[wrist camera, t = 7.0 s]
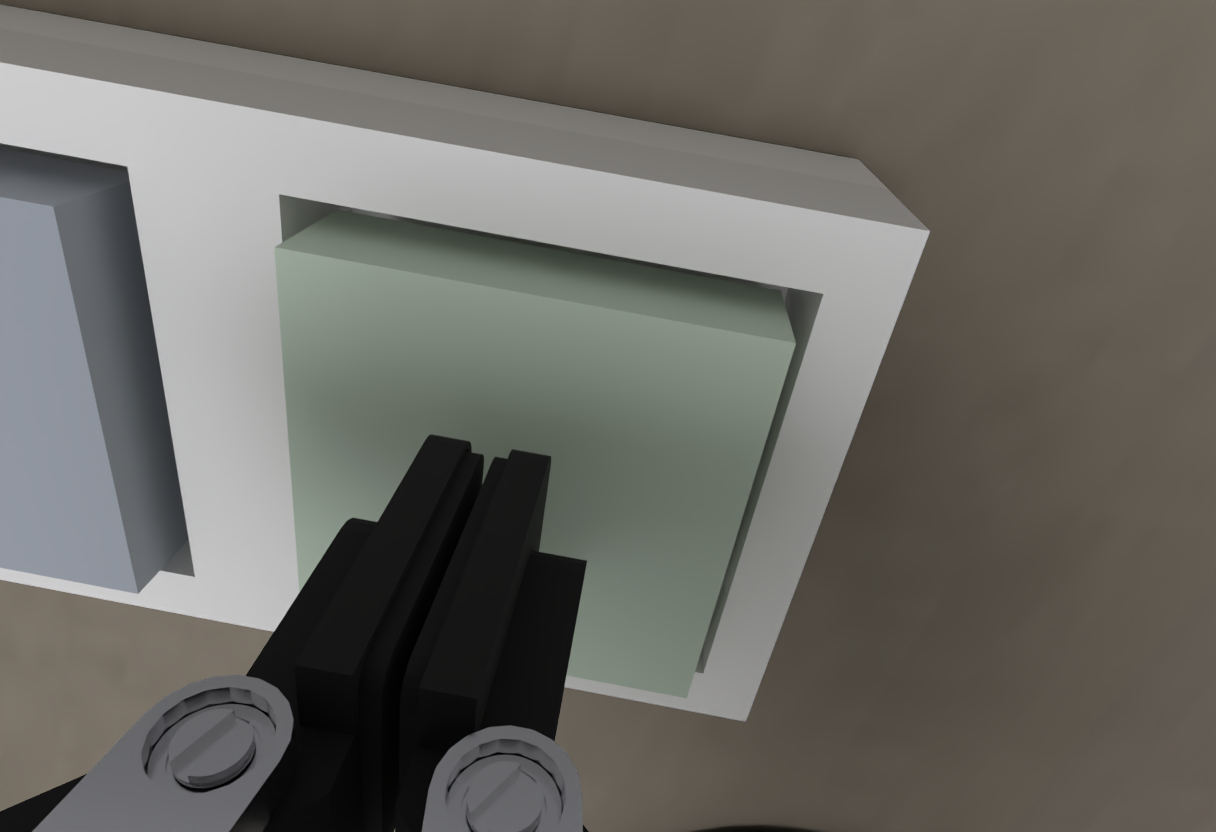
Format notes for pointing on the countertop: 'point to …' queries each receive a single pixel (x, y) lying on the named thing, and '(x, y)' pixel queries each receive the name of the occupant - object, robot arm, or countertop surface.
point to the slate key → (80, 383)
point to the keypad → (458, 201)
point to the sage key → (538, 410)
